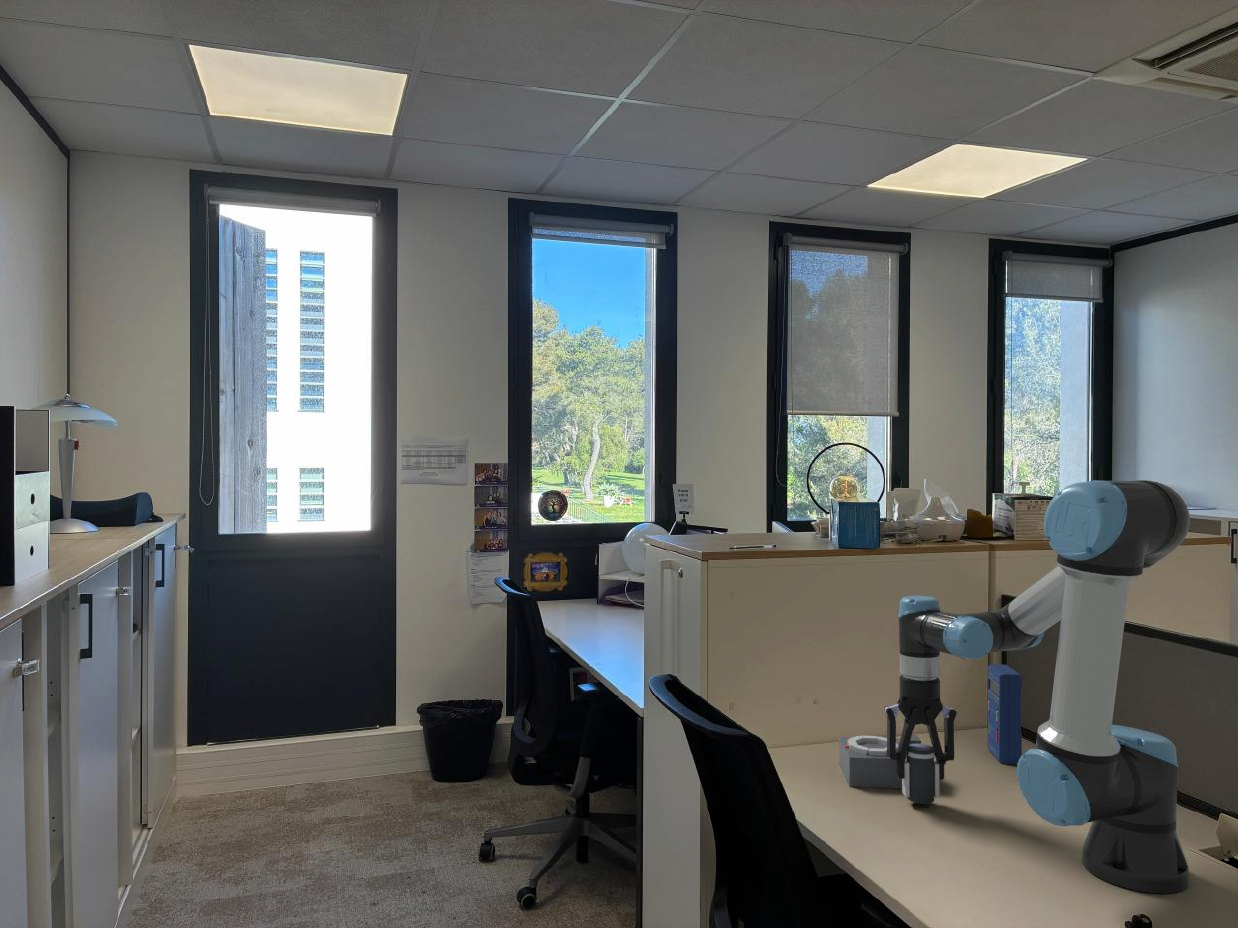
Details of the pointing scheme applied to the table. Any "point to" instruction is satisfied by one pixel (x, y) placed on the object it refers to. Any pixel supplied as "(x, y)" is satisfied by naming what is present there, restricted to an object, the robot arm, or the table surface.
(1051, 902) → the table surface
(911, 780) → the lens
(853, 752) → the camera body
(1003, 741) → the electronic device
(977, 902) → the table surface
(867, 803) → the table surface
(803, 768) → the table surface
